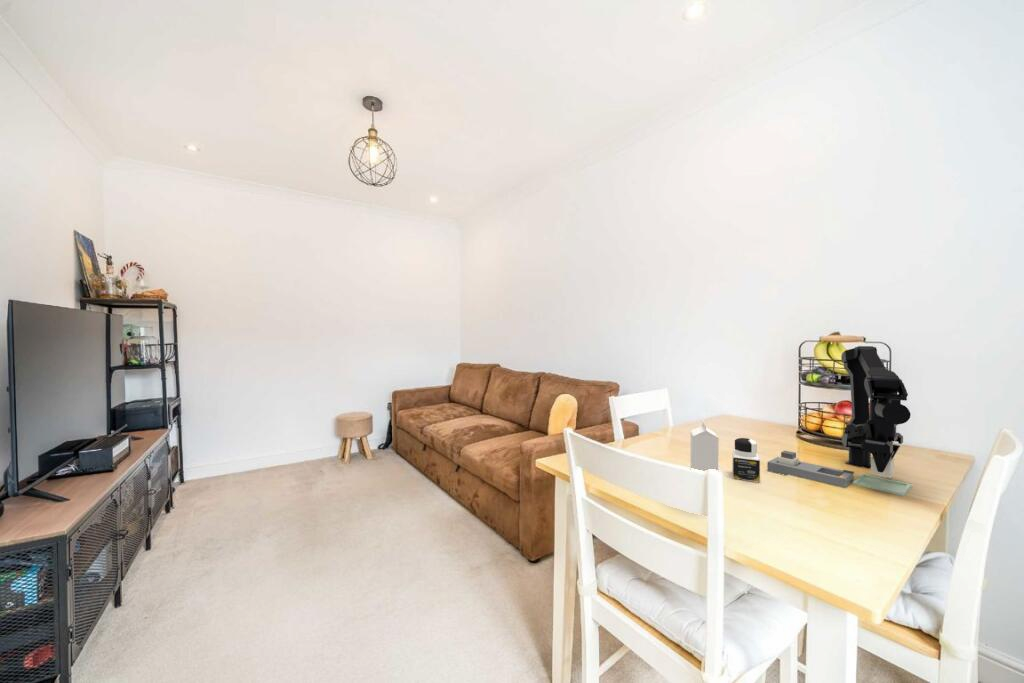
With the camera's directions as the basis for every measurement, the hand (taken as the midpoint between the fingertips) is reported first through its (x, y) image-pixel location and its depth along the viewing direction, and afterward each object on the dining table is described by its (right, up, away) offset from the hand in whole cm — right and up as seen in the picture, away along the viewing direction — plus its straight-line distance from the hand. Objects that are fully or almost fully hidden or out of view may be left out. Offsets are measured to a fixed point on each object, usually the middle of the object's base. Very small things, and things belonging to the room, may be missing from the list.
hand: (882, 470), depth 115 cm
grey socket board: (-15, -5, +9) cm, 18 cm away
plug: (0, -1, 0) cm, 1 cm away
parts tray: (0, -5, 0) cm, 5 cm away
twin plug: (-18, -5, +13) cm, 23 cm away
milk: (-58, -6, -11) cm, 59 cm away
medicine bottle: (-35, -5, +9) cm, 36 cm away
